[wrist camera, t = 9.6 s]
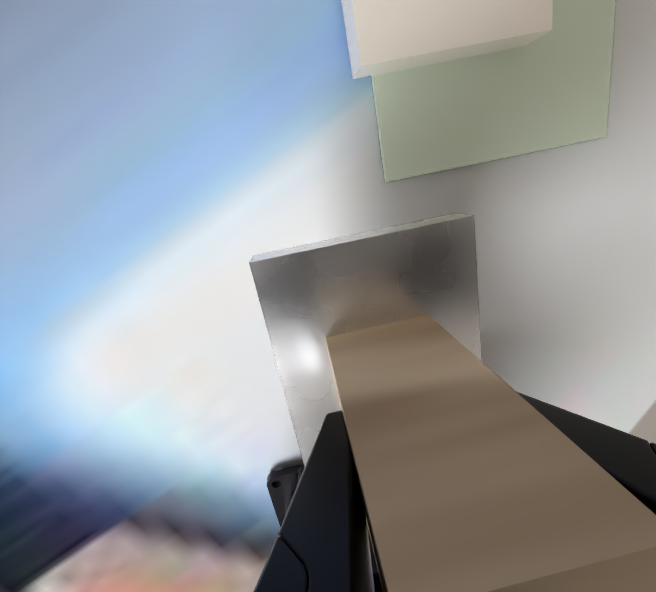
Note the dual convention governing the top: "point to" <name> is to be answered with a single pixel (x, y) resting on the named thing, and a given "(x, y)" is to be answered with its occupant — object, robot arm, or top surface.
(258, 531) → the top surface
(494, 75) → the mat
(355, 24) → the tile
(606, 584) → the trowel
